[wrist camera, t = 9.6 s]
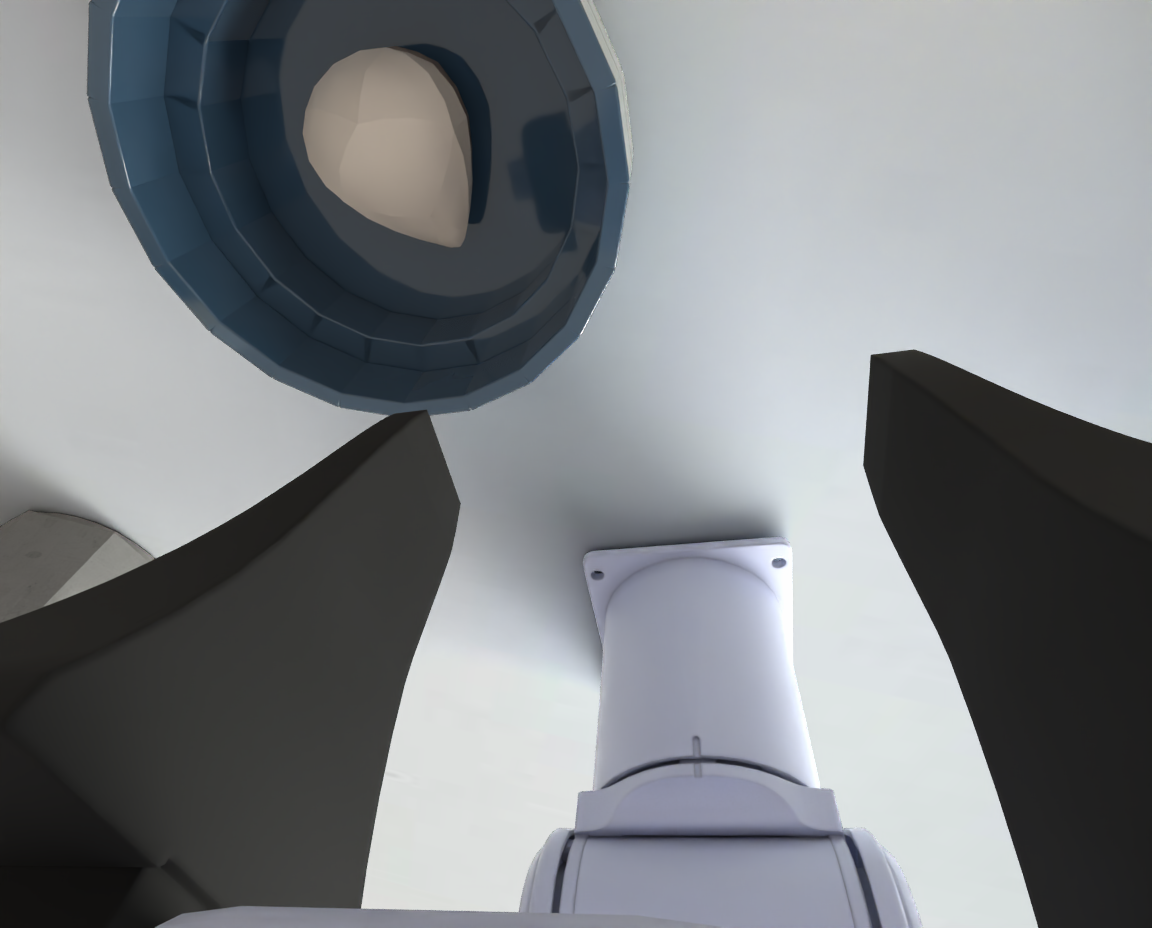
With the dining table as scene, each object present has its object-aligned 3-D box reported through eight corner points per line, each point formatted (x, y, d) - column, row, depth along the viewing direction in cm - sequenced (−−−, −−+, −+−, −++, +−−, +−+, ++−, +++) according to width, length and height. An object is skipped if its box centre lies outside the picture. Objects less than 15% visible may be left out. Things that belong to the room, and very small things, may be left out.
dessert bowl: (655, 322, 21) (657, 388, 17) (310, 370, 23) (244, 438, 19) (591, -199, 14) (570, -276, 10) (117, -63, 16) (-40, -88, 13)
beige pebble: (424, 9, 16) (391, 7, 14) (531, 196, 18) (516, 219, 16) (299, 107, 18) (253, 118, 16) (413, 269, 20) (385, 298, 18)
